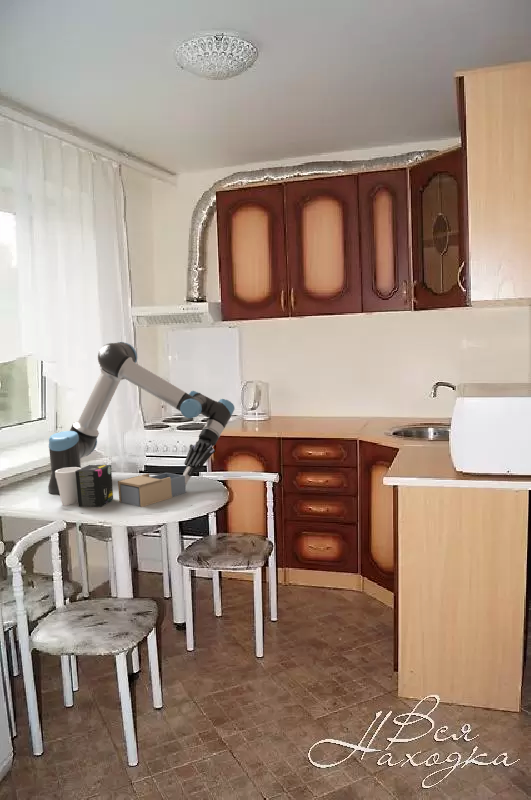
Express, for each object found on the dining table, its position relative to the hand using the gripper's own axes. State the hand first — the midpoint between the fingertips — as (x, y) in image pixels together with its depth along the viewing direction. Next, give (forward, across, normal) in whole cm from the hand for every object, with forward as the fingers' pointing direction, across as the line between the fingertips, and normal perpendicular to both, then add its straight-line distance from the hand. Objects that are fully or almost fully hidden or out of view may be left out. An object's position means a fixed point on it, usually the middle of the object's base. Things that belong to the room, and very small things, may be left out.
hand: (183, 482), depth 252 cm
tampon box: (+25, +13, +19) cm, 34 cm away
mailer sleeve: (+16, 0, +10) cm, 19 cm away
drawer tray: (+13, 0, +7) cm, 15 cm away
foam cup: (+27, +25, +21) cm, 42 cm away
